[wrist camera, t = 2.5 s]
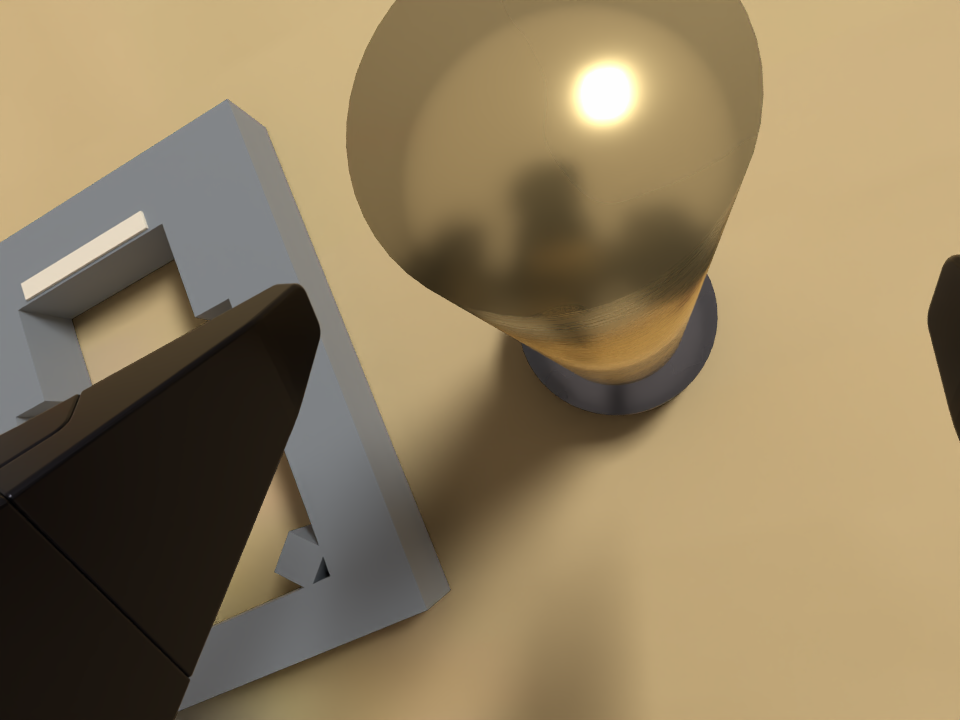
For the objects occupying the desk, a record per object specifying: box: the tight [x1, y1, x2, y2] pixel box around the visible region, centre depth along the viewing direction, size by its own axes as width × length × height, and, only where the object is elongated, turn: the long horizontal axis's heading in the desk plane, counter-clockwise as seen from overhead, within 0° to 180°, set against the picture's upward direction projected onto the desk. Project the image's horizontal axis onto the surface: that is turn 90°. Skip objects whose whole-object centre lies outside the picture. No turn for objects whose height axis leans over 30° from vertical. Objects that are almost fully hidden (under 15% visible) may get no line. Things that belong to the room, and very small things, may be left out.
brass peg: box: [346, 0, 763, 415], centre depth 12 cm, size 5×5×13 cm
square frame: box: [0, 99, 451, 711], centre depth 20 cm, size 16×13×2 cm
